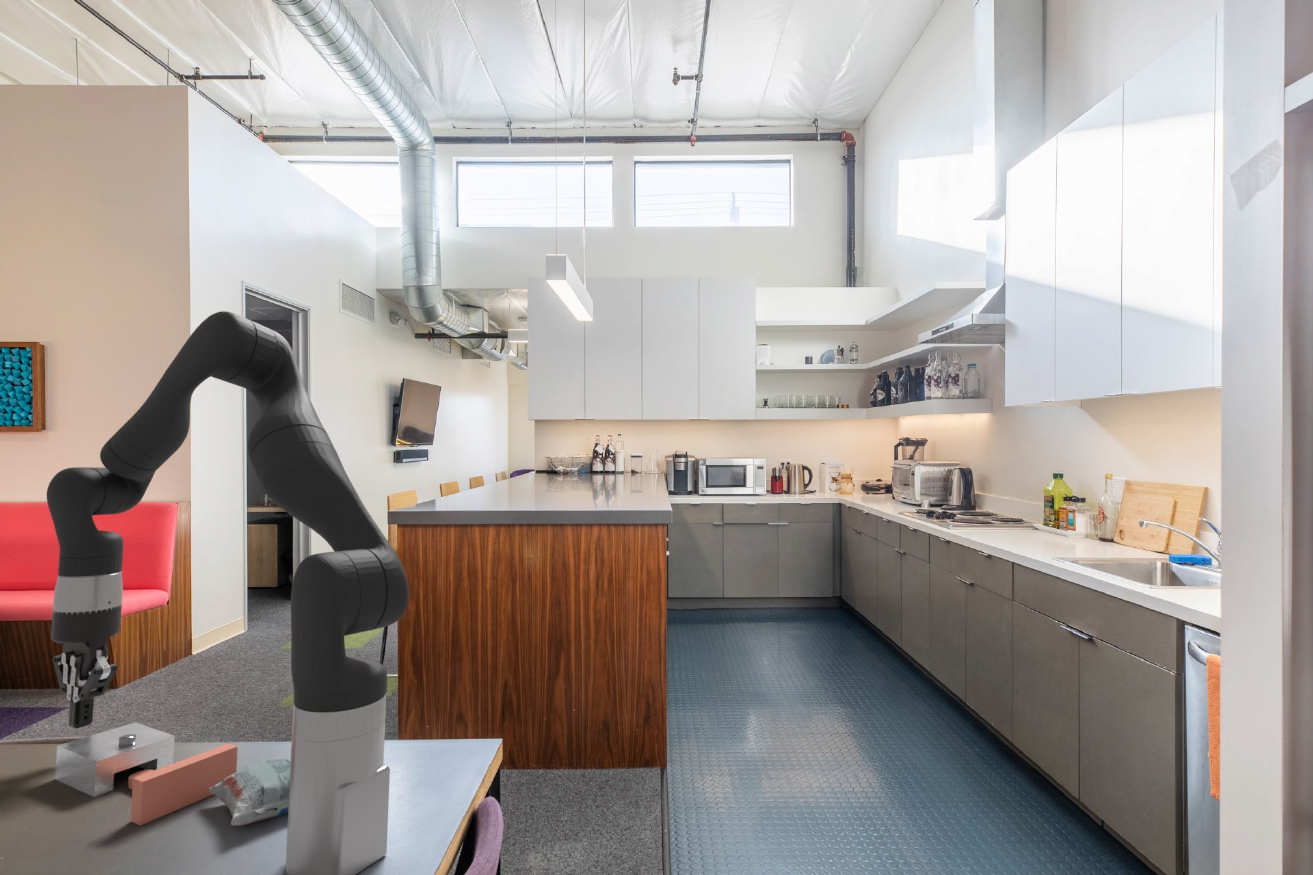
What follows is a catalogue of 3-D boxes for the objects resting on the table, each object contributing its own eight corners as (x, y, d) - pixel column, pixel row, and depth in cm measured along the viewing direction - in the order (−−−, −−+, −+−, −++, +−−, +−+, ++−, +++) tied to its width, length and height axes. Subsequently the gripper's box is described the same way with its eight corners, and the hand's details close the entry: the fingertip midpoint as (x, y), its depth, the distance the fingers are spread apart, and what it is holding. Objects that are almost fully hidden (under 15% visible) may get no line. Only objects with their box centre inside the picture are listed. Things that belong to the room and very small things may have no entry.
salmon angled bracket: (235, 784, 85) (237, 746, 85) (139, 825, 75) (142, 781, 75) (181, 764, 90) (183, 728, 90) (85, 800, 80) (87, 759, 81)
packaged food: (229, 844, 72) (232, 799, 72) (207, 804, 80) (210, 764, 81) (313, 817, 78) (316, 775, 78) (284, 782, 86) (287, 745, 87)
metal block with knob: (172, 768, 89) (175, 728, 90) (94, 797, 81) (97, 753, 82) (133, 753, 94) (135, 715, 94) (54, 779, 86) (57, 737, 86)
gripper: (143, 605, 94) (135, 725, 93) (96, 594, 99) (88, 708, 98) (79, 615, 87) (70, 745, 86) (32, 603, 92) (24, 725, 92)
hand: (80, 725), depth 92 cm, fingers closed
